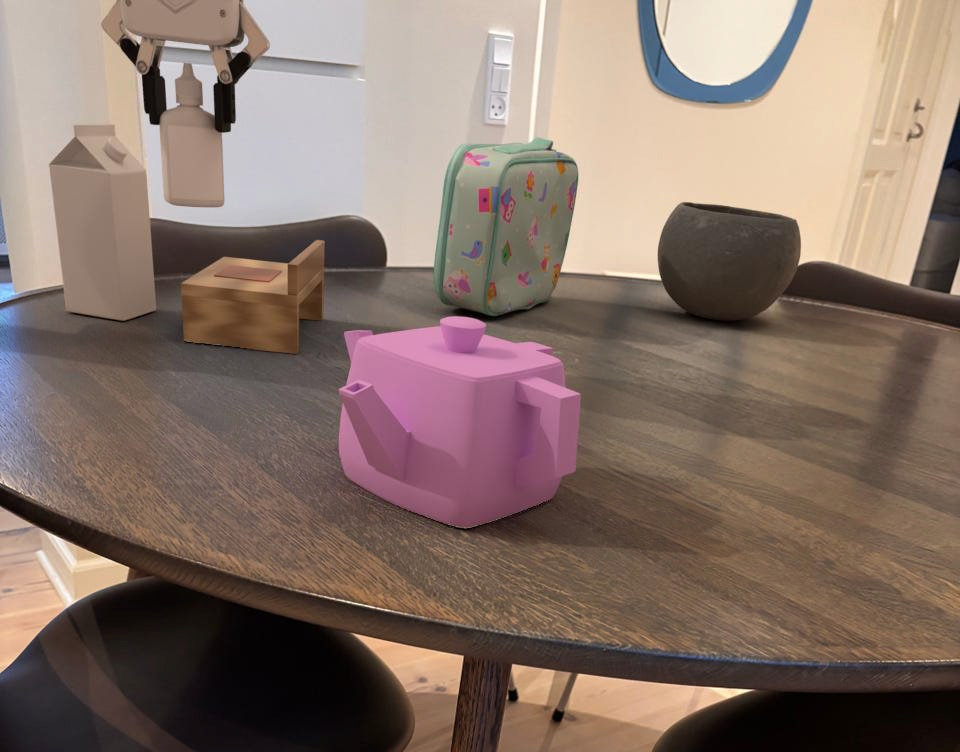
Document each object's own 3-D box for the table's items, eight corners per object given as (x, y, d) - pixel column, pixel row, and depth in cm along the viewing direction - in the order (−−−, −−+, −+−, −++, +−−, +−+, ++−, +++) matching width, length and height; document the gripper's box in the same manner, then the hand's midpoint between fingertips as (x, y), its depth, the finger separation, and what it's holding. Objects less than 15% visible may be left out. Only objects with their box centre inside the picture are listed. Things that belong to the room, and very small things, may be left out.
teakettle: (574, 540, 65) (604, 360, 59) (328, 524, 63) (331, 337, 57) (543, 455, 79) (564, 304, 73) (341, 441, 77) (345, 285, 71)
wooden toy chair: (183, 342, 99) (178, 252, 95) (225, 308, 115) (222, 229, 110) (297, 354, 100) (297, 264, 95) (323, 318, 115) (324, 240, 111)
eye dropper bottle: (219, 210, 90) (213, 66, 84) (160, 204, 90) (150, 58, 84) (228, 205, 94) (223, 67, 88) (171, 199, 94) (162, 60, 88)
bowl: (790, 340, 133) (820, 226, 125) (646, 320, 134) (667, 207, 127) (774, 313, 150) (799, 212, 143) (647, 296, 152) (665, 195, 144)
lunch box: (505, 288, 146) (522, 132, 135) (566, 299, 142) (589, 141, 131) (422, 312, 124) (434, 130, 113) (492, 326, 121) (511, 140, 110)
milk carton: (65, 313, 105) (42, 120, 95) (102, 302, 111) (84, 120, 101) (123, 322, 104) (105, 129, 94) (157, 311, 110) (143, 128, 100)
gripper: (59, -134, 76) (85, 118, 85) (269, -109, 77) (272, 140, 86) (95, -116, 83) (115, 117, 92) (288, -93, 83) (289, 137, 92)
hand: (191, 125), depth 89 cm, fingers closed on eye dropper bottle, 5 cm apart
